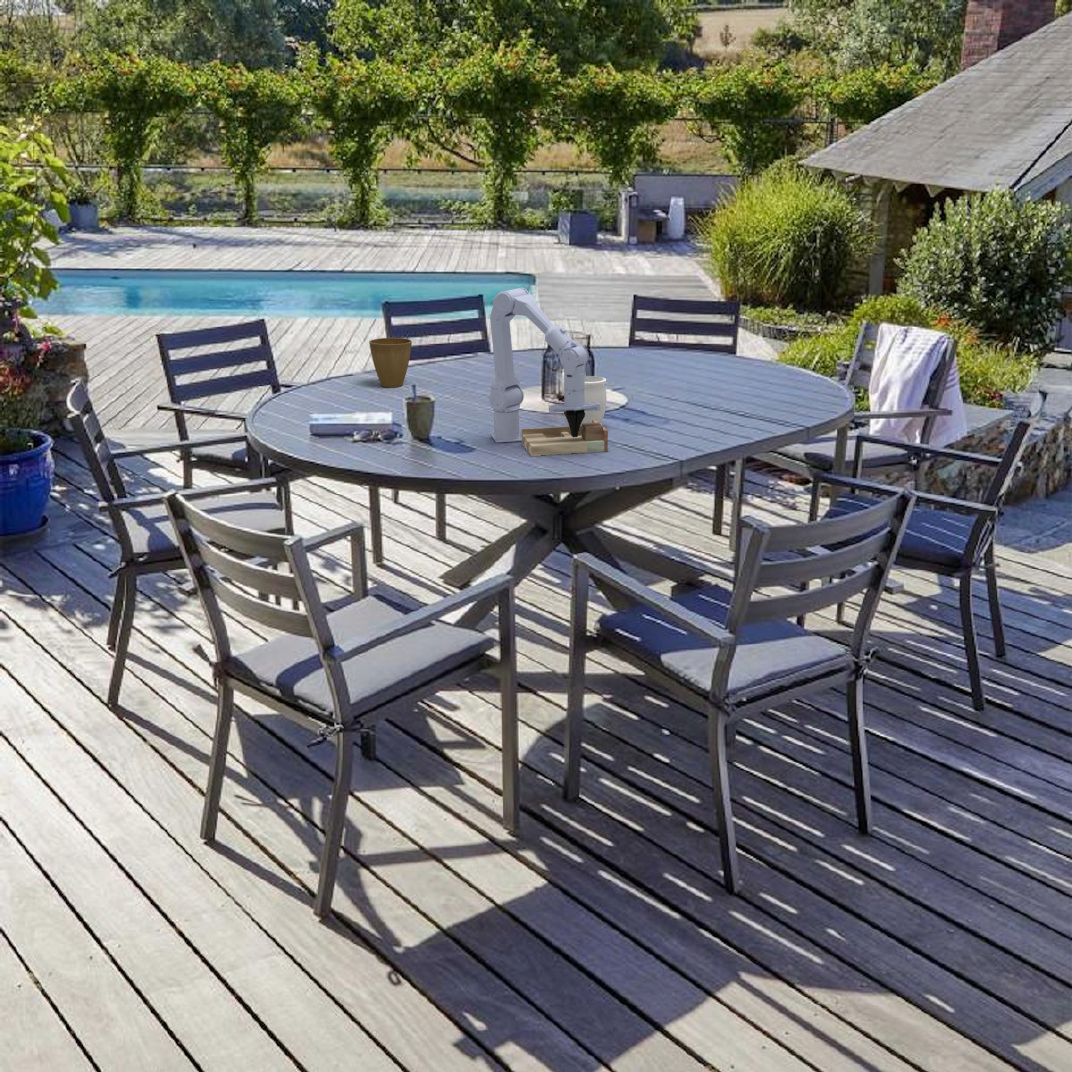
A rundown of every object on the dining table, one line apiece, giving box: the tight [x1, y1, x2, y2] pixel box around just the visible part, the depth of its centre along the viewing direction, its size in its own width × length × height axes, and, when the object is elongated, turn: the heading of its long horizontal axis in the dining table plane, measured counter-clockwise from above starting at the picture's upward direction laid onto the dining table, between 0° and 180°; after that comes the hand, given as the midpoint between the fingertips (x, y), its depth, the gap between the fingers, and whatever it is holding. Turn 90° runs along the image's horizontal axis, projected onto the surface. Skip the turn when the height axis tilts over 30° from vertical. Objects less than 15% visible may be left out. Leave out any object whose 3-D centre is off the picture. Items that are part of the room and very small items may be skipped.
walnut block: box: [582, 422, 604, 441], centre depth 358 cm, size 5×5×4 cm
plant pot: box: [368, 337, 413, 388], centre depth 443 cm, size 15×15×16 cm
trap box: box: [521, 420, 609, 457], centre depth 359 cm, size 14×22×6 cm, turn 102°
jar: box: [580, 375, 607, 427], centre depth 381 cm, size 11×10×15 cm
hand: (574, 436), depth 357 cm, fingers closed
